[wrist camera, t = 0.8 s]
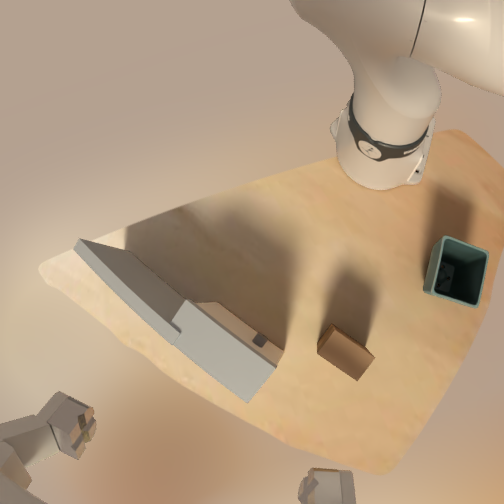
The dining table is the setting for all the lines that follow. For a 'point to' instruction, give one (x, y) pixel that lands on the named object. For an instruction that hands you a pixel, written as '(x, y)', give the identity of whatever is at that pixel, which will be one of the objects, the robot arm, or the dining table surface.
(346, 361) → the walnut block
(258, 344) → the door panel
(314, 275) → the dining table surface
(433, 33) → the robot arm
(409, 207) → the dining table surface
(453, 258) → the flower pot
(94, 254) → the wall
